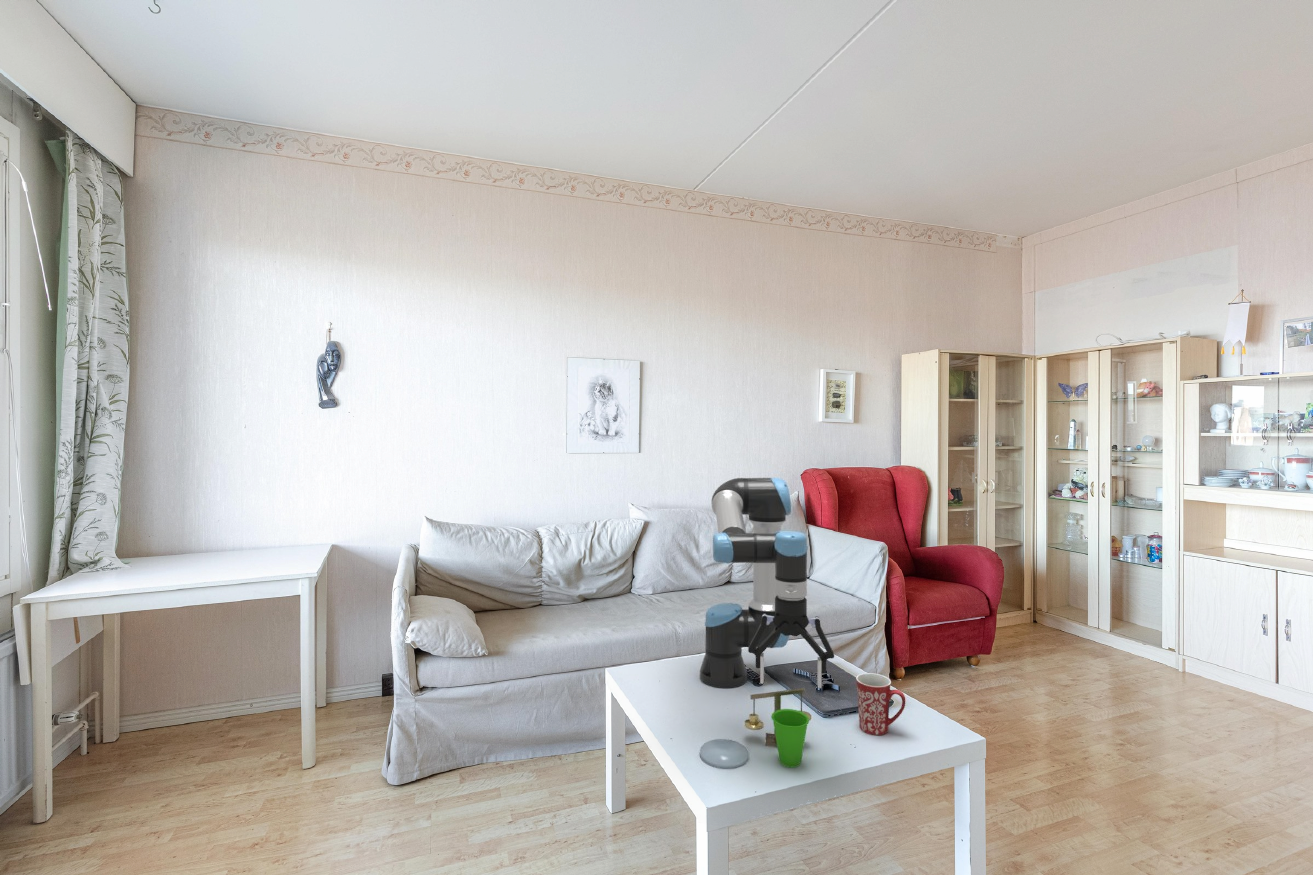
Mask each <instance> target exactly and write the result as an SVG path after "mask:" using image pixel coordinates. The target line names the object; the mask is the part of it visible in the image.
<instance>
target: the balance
mask: <svg viewBox="0 0 1313 875" xmlns="http://www.w3.org/2000/svg"><path fill="white" fill-rule="evenodd" d="M805 693H806V688H805V687H801V688H795V689H793V688H792V689H787V690H786V689H785V690H778V691H771V692H762V693H755V694H750V700H753V707H752V708H753V712H752V713H750V714H749V718H748V719H746V720H744V724H743V725H744V727H745V728H746V729H748V730H752V731H759V730H760V731H761V730H762V729H764V725H765V724H764V722H763V721H762V720H760V718H759V717H760V716H759V715H758V714H757V713H755V712H756V710H755V706H756V702H755V700H758V699H759V700H760V699H766V698H774V700H773V701H774V704H773V706H774V709H773V710H774V711H773V713H774V712H775V711H777V710H781V709H782V708H781V705H782V703H781V702H782V699H781V698H782V696H792V695H798V694H800V710H799V711H800V712H803V713H804V714H806V715H807V716H808V718H809V722H810V721H811V720H812V714H811V713H810V712H807V711H805V710H803V694H805ZM773 732H774V733H770V732H765V746H766V747H774V748H775V747H776V748H777V742H776V736H775V729H773Z"/></svg>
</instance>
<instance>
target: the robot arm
mask: <svg viewBox="0 0 1313 875" xmlns="http://www.w3.org/2000/svg"><path fill="white" fill-rule="evenodd" d="M791 502H792V501H791V495H790V489H789V486H788V483H787V482H786V481H785V479H783V478H776V477H737V478H732V479H729V480H728V481H727V480H726V481H725V482H723V483H722V484H720V486H718V487H717V488H716V489H715V491H714V492H713V495H712V498H711V508H712V512H713V514H715V517H716V524H717V533H714V534H713V536H712V558H713V561H715V562H716V563H726V564H738V563H740V564H744V563H745V564H747V563H748V564H749V563H750V564H753V566H752V568H753V573H752V574H753V577H752V578H753V580H752V581H753V584H752V586H753V590H752V592H753V594H752V597H753V598H752V599H751V600H750V601H749V602H748V609H743V607H742V605H740V604H739V603H732V602H723V603H719V604H715V605H713V606H710V607H709V608H708V609H707V610H706V611H705V622H704V626H705V642H704V643H705V645H704V646H705V653H704V657H703V660H702V662H701V666H700V670H699V679H700V681H701V682H702V683H704V684H706V685H708V686H710V687H714V688H723V689H729V688H731V689H732V688H737V687H740V686H743V685H744V684H746V682H747V681H748V671H747V668H746V667H747V666H746V664H745V661H744V659H743V655H742V649H743V648H747V652H748V653H750V654H754V655H755V668H756V669H759V670H760V673H759V674H760V675H759V676H760V677H759V678H760V679H759V681H760V682H759V684H760V685H761V684H764V679H765V677H764V676H765V671H764V670H765V669H764V668H765V666H764V664H765V663H764V662H765V658H764V657H765V655H764V654H765V653H764V652H765V650H767V649H777V648H784V647H785V646H786V645H788V641H789V638H790V636H793V637H798V636H801V637H802V638H803V639H804V640H805V641H806V642H807V644H808V645H809V646H810V647H811V648H812V649H813V651H814V652H815V653H816V654H817V661H816V662H817V664H816V665H817V666H816V667H817V668H816V669H817V673H816V674H817V678H816V679H817V680H816V681H817V688H818V689H822V674H826V673H827V662H828V660H830V659H834V658H835V653H834V650H833V648H832V646H831V644H830V642H829V640H828V638H827V636H826V634H825V632H824V630H823V629H822V626H821V620H820V617H819V616H818V615H817V616H814V617H810V618H809V617H808V615H807V614H808V612H807V611H808V608H807V607H808V604H807V602H808V600H807V598H806V597H807V595H808V594H807V593H808V592H807V591H808V588H807V586H808V579H807V577H808V576H807V575H808V574H807V572H808V570H807V569H808V568H807V567H808V562H807V561H808V558H807V557H808V544H807V535H806V534H805V533H803V532H800V531H796V530H795V531H794V530H793V531H792V530H785V531H784V530H782V525H784V524H785V522H786V521H787V520H786V517H787V516H789V515H791V513H792V503H791ZM743 515H745V516H747V515H748V521H749V522H750V523H751V525H753V533H752V532H751V533H750V532H749V533H747V529H746V525H745V520H744V517H743ZM809 624H810V625H811V627H812V628H814V629H815V630H816V633H817V636H818V638H820V640H821V643H822V646H823V647H824V649H825V651H824V650H823V649H822V648H821V647H820V646H821V645H819V644H818V643H817V641H816V640H815V639H814V638H813V637H812V635H811V634H810V633H809V632H808V630H807V629H806V628H807V627H808V625H809Z"/></svg>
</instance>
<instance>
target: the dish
mask: <svg viewBox="0 0 1313 875" xmlns="http://www.w3.org/2000/svg"><path fill="white" fill-rule="evenodd" d="M749 755H750V753H749V749H748V747H746V745H744V744H742V743H741V742H739V741H737V740H733V739H729V738H715V739H711V740H708V741H705V742H704V743H703V744H702V745H701V746H700V749H699V757H700V758H701V761H702V762H704V763H705V764H707V765H708V766H711V767H712V768H716V769H722V770H724V769H725V770H730V769H731V770H732V769H736V768H739V767H742V766H744V765H746V763H747V762H748V761H749Z"/></svg>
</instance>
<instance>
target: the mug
mask: <svg viewBox="0 0 1313 875" xmlns="http://www.w3.org/2000/svg"><path fill="white" fill-rule="evenodd" d="M855 680H856V690H857V707H858V709H857V710H858V722H859V725H858V726H859V729H860V730H861V731H862V732H864V733H866V734H869V735H871V736H883V735H886V734H887V733H889V732H888V731H889V726H890V725H892V724H893V723H894V722H895V721H896V720H897V719H898V718H899V717H900V716H901V715H902V713H903V712H904V710H905V707H906V697H905V694H904V693H903V692H902V691H901V690H900V689H891V685H892V681H891V678H889V677H887V676H885V675H883V674H879V673H875V672H874V673H873V672H868V673H867V672H864V673H859V674H858V675H856V678H855ZM894 695H898V696H899V697H900V699H901V703H902V704H901V707H900V708H899V710H898V711H897V712H896V714H894V715H893V716H892V717H891V718H890V717H889V716H890V700H891V699H892V697H893V696H894Z"/></svg>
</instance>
